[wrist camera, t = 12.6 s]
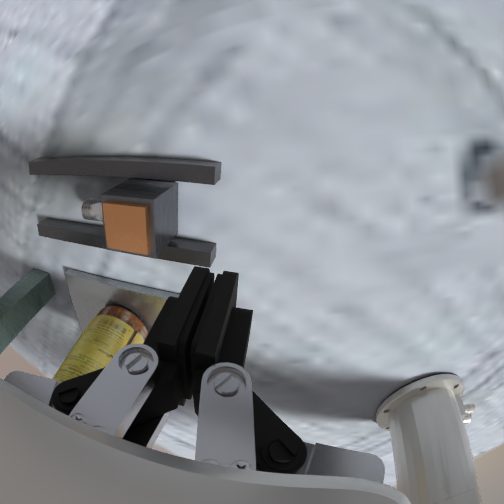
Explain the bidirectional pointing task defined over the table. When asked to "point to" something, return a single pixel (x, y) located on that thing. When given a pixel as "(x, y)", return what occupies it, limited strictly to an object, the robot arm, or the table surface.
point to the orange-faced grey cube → (137, 216)
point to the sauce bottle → (102, 342)
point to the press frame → (104, 246)
